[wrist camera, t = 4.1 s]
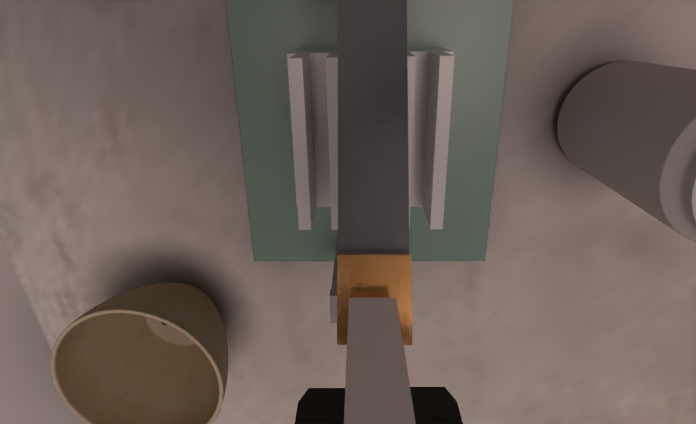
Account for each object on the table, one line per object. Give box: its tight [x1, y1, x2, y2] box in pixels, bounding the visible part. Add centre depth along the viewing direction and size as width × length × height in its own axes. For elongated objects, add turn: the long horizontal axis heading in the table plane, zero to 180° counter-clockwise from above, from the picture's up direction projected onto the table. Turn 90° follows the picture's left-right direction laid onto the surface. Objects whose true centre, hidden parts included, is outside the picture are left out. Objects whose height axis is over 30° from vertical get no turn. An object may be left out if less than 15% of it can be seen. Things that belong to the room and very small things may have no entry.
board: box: [226, 0, 514, 323], centre depth 23 cm, size 20×15×8 cm
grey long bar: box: [337, 0, 412, 345], centre depth 17 cm, size 16×3×2 cm, turn 0°
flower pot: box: [50, 282, 228, 424], centre depth 30 cm, size 10×10×7 cm
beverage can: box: [557, 61, 696, 242], centre depth 21 cm, size 6×6×12 cm
